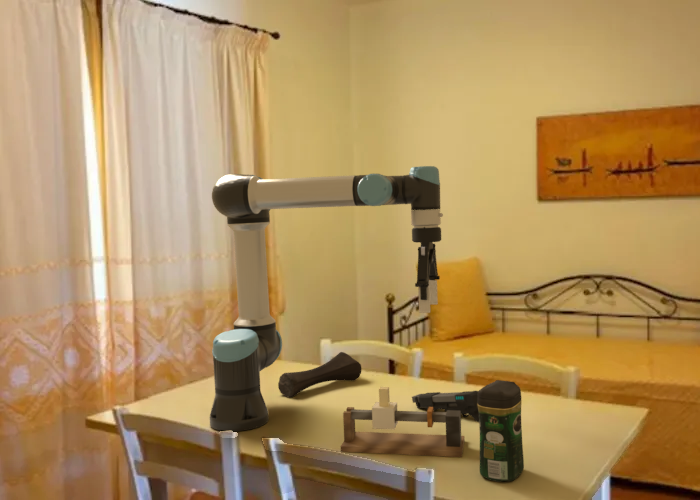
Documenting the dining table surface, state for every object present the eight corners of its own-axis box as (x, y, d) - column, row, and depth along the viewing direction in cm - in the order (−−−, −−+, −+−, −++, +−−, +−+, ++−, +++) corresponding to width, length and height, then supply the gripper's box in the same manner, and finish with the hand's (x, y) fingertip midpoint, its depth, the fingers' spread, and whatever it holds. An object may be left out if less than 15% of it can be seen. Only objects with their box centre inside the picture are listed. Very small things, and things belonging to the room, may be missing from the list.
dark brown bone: (351, 383, 219) (284, 413, 200) (337, 353, 222) (270, 381, 203) (370, 372, 212) (303, 403, 193) (355, 342, 214) (287, 369, 195)
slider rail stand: (340, 451, 153) (339, 413, 152) (350, 436, 162) (349, 400, 162) (461, 457, 146) (460, 417, 146) (464, 440, 156) (463, 403, 155)
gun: (480, 423, 167) (467, 383, 169) (421, 434, 181) (410, 397, 182) (490, 418, 171) (477, 379, 172) (431, 429, 184) (420, 393, 186)
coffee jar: (491, 462, 143) (489, 375, 142) (528, 469, 138) (526, 379, 137) (473, 478, 135) (471, 387, 133) (512, 486, 130) (510, 391, 129)
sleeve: (372, 428, 153) (371, 390, 153) (376, 422, 158) (375, 384, 157) (394, 429, 152) (393, 391, 151) (397, 422, 157) (396, 385, 156)
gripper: (434, 228, 161) (436, 316, 163) (446, 224, 185) (448, 301, 187) (403, 229, 163) (405, 316, 165) (419, 225, 187) (421, 301, 189)
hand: (428, 308), depth 176 cm, fingers open, 13 cm apart
